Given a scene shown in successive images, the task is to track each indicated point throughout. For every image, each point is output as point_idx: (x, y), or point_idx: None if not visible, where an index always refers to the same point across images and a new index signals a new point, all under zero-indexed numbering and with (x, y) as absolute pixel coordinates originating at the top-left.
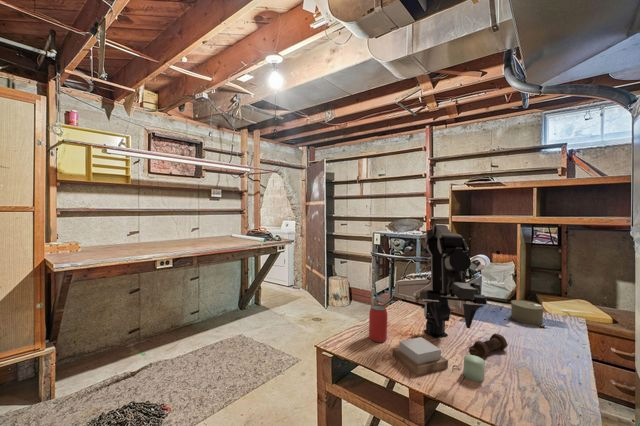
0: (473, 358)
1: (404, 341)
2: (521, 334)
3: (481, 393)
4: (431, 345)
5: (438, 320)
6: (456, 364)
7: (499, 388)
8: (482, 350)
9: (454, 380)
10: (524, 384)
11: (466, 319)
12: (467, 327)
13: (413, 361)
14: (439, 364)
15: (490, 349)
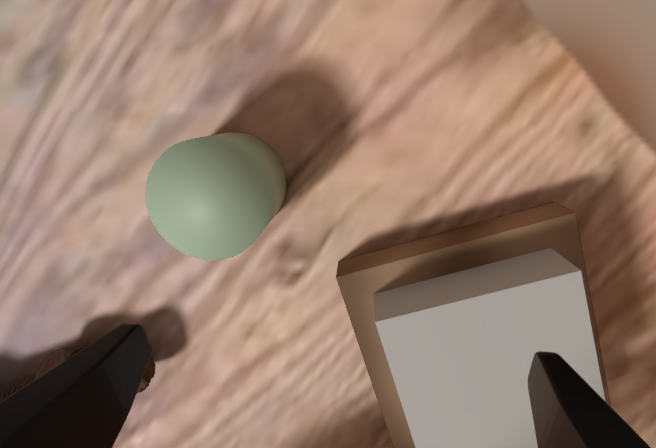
0: (203, 216)
1: None
2: None
3: (280, 29)
4: (412, 375)
5: (611, 412)
6: (273, 287)
7: (159, 70)
8: None
9: (364, 148)
10: (11, 99)
11: (90, 443)
12: (144, 342)
13: None
14: (398, 256)
15: (27, 377)
